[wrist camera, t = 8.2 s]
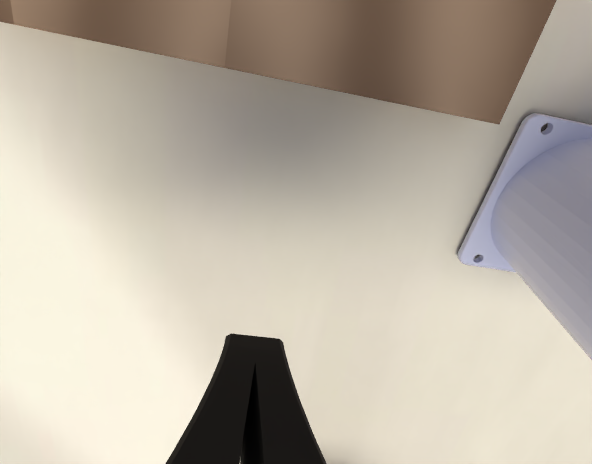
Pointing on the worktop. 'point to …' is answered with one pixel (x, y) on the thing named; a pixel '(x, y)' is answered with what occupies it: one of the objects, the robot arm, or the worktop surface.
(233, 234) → the worktop surface
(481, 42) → the deck
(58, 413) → the worktop surface
